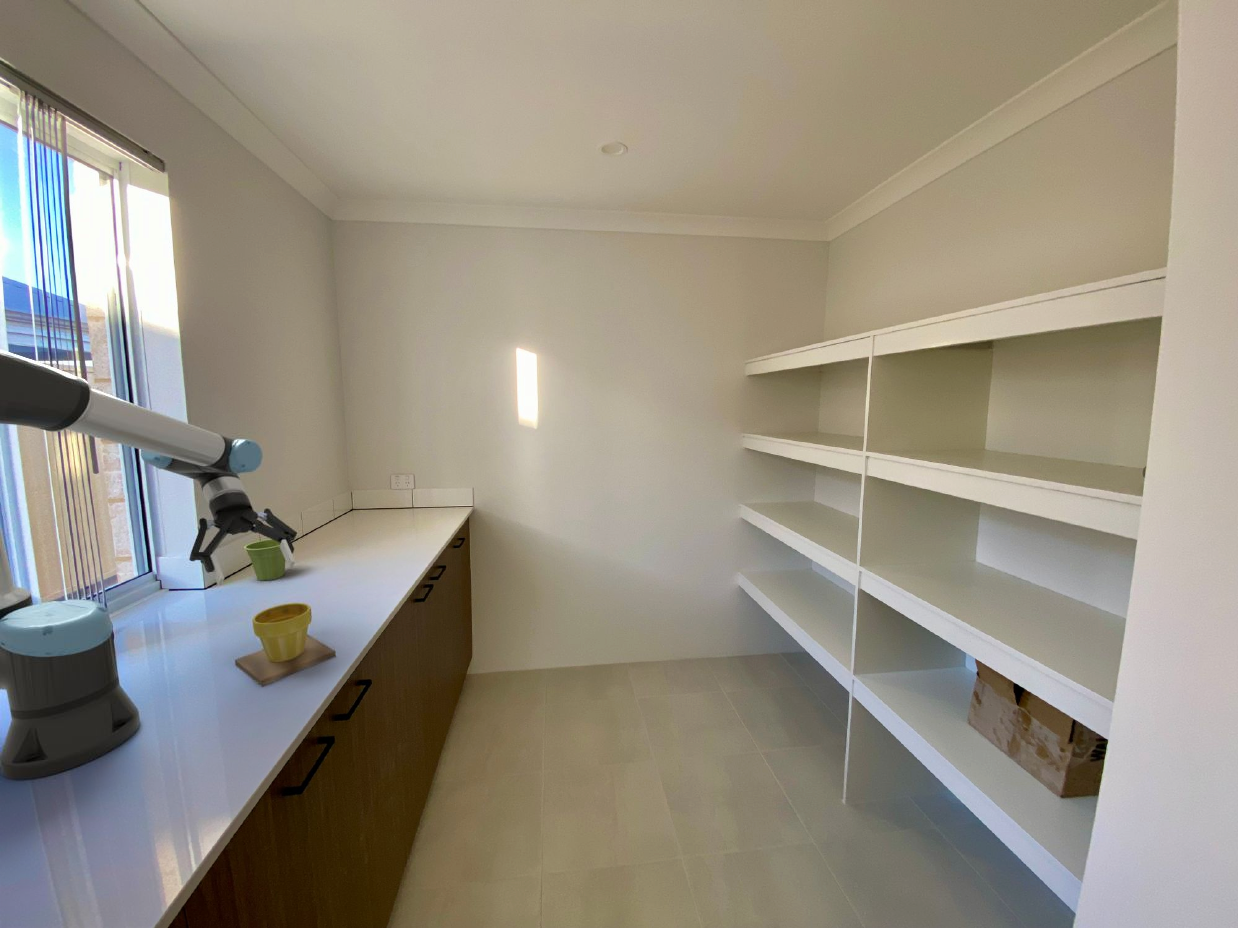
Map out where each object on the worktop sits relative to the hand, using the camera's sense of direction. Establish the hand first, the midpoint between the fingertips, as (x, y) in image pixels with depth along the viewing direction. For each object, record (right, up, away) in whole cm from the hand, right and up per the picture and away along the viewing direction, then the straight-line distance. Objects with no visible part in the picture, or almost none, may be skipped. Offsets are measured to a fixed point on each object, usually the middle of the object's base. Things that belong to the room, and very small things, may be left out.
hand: (258, 573), depth 109 cm
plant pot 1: (-31, -12, +47) cm, 58 cm away
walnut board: (+9, -18, -4) cm, 21 cm away
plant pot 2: (+9, -17, -4) cm, 20 cm away
